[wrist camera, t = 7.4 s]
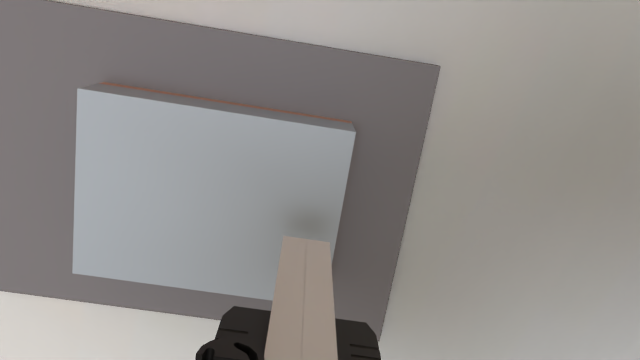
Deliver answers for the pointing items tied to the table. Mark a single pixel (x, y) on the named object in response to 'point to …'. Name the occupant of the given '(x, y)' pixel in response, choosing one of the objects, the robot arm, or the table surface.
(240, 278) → the slab
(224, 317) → the robot arm
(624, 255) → the table surface
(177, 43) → the mat
